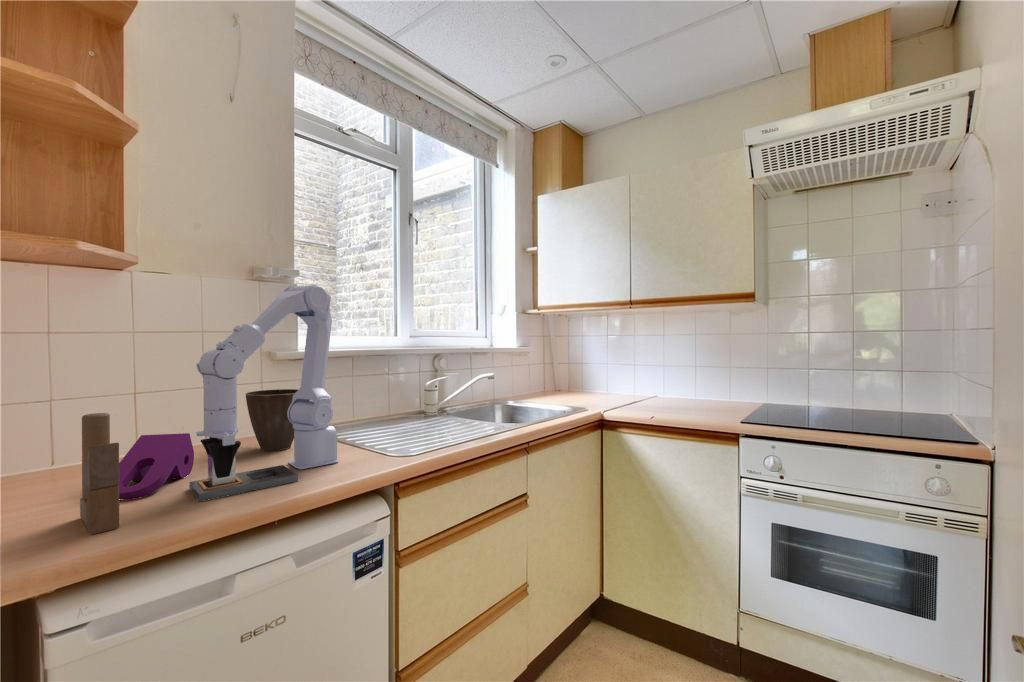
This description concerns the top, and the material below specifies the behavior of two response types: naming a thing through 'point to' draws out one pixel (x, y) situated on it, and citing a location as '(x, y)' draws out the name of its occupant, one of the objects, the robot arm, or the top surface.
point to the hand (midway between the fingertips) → (220, 474)
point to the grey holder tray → (244, 482)
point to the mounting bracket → (154, 463)
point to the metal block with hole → (212, 477)
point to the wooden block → (99, 475)
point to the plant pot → (271, 418)
